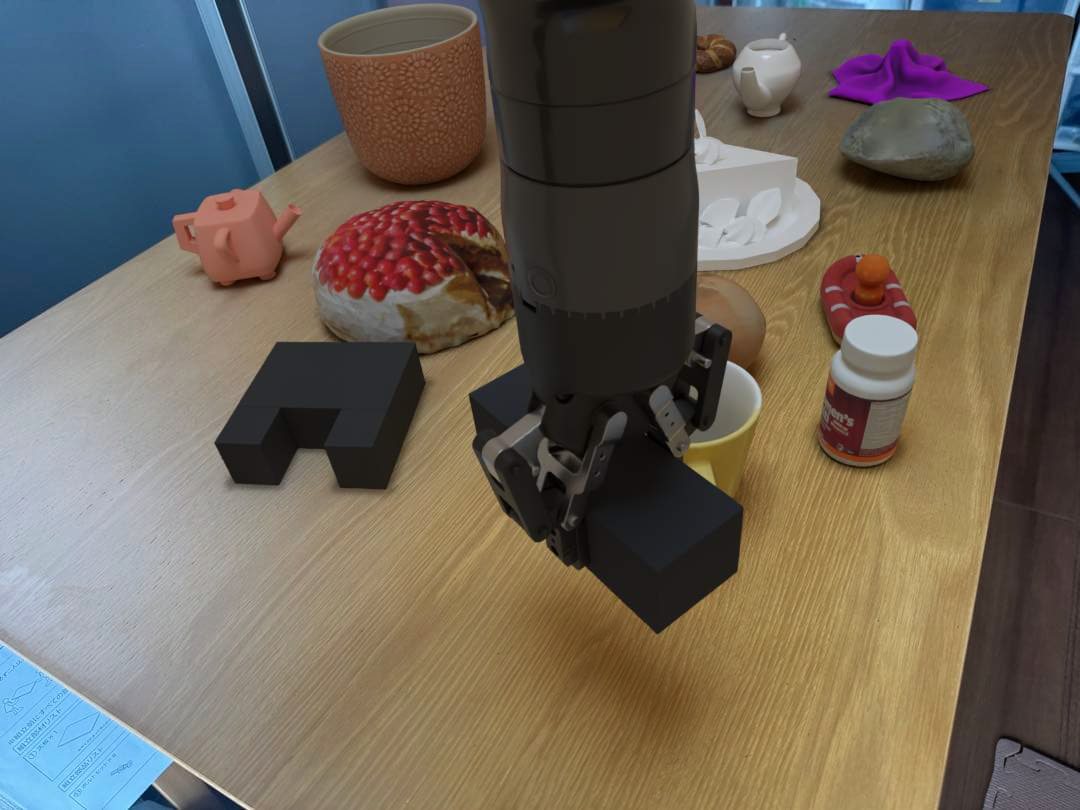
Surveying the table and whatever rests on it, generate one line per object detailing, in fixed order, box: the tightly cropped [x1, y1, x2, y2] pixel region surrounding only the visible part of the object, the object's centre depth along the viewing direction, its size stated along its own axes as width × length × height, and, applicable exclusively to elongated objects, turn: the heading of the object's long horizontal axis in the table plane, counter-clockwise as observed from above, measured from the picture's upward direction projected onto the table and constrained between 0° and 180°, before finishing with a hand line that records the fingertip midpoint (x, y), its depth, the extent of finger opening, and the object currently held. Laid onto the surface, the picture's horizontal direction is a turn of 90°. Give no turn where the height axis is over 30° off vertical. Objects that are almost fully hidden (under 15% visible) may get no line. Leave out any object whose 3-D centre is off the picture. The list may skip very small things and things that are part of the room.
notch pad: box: [213, 341, 426, 490], centre depth 73 cm, size 14×14×5 cm
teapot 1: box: [171, 188, 303, 287], centre depth 96 cm, size 12×12×10 cm
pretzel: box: [696, 33, 737, 73], centre depth 134 cm, size 12×11×4 cm
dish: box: [694, 108, 821, 272], centre depth 94 cm, size 25×25×11 cm
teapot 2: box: [731, 32, 803, 118], centre depth 116 cm, size 10×20×9 cm, turn 151°
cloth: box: [828, 39, 990, 105], centre depth 119 cm, size 22×19×6 cm
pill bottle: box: [817, 315, 919, 467], centre depth 63 cm, size 6×6×11 cm
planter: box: [317, 3, 488, 186], centre depth 110 cm, size 21×21×19 cm
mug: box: [683, 361, 763, 499], centre depth 60 cm, size 14×10×10 cm
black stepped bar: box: [468, 362, 745, 636], centre depth 43 cm, size 16×6×5 cm, turn 37°
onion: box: [696, 272, 767, 371], centre depth 72 cm, size 10×10×10 cm
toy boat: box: [819, 253, 918, 346], centre depth 76 cm, size 8×12×8 cm, turn 177°
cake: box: [310, 199, 516, 355], centre depth 87 cm, size 23×24×10 cm
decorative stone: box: [838, 97, 976, 182], centre depth 98 cm, size 14×15×10 cm
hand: (616, 525), depth 43 cm, fingers closed on black stepped bar, 5 cm apart
